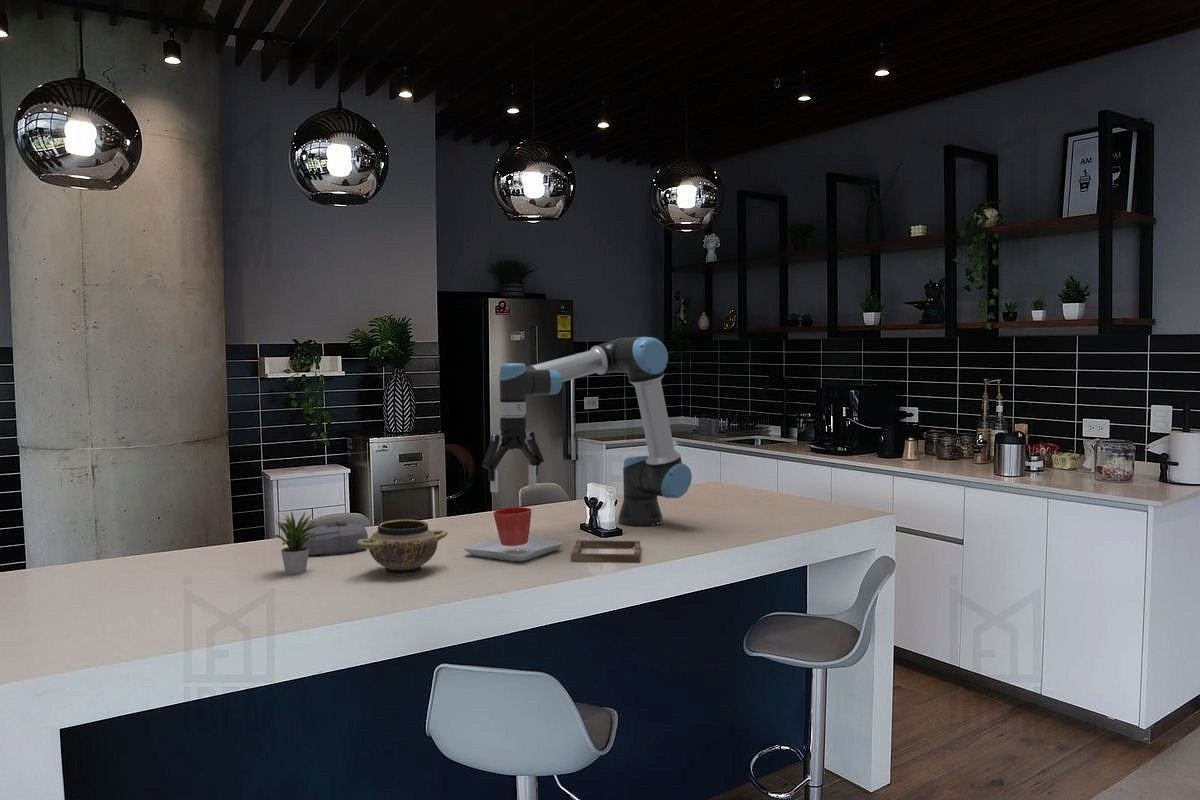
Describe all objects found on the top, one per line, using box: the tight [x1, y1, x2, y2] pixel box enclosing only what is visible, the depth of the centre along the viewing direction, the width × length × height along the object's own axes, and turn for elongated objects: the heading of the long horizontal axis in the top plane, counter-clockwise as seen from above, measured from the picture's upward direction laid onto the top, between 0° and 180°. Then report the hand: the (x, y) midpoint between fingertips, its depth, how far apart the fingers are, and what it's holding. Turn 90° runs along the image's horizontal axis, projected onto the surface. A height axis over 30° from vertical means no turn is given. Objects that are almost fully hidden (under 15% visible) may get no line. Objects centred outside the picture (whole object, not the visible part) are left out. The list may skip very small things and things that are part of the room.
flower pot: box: [493, 506, 532, 546], centre depth 252 cm, size 11×11×10 cm
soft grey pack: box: [301, 521, 369, 556], centre depth 256 cm, size 15×8×20 cm
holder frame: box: [570, 539, 641, 563], centre depth 250 cm, size 19×19×2 cm
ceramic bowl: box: [357, 518, 449, 577], centre depth 231 cm, size 24×18×15 cm
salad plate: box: [463, 537, 564, 563], centre depth 252 cm, size 21×21×3 cm
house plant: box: [270, 511, 322, 576], centre depth 229 cm, size 14×14×16 cm
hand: (513, 489), depth 251 cm, fingers open, 13 cm apart
